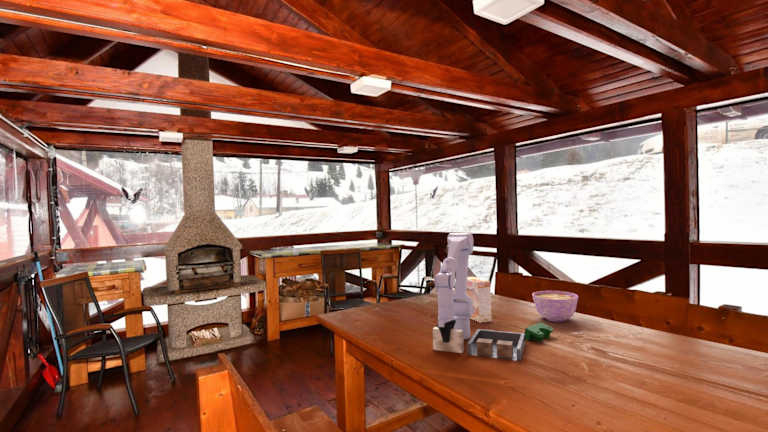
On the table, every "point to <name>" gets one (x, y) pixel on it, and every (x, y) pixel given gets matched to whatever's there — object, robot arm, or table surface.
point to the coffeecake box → (480, 299)
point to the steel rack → (514, 337)
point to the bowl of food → (555, 304)
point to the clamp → (538, 332)
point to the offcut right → (504, 349)
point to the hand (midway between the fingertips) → (447, 341)
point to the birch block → (454, 343)
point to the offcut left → (485, 346)
